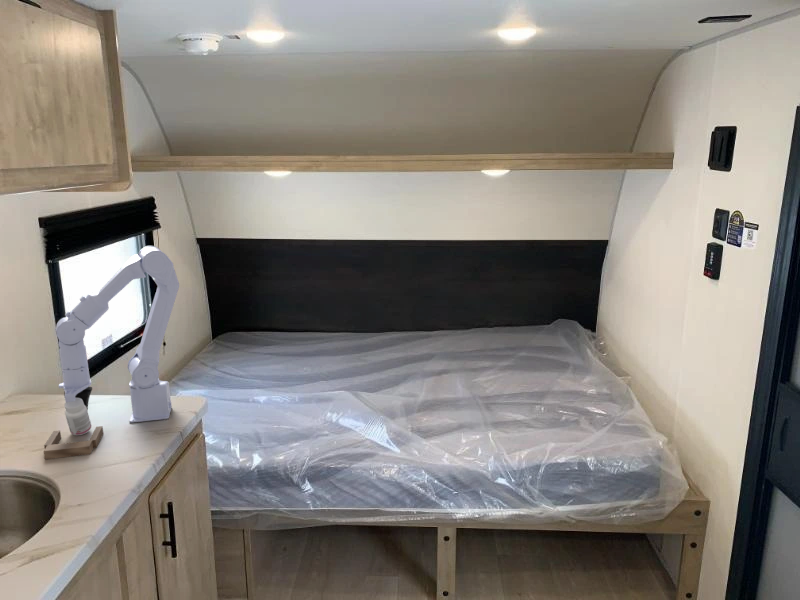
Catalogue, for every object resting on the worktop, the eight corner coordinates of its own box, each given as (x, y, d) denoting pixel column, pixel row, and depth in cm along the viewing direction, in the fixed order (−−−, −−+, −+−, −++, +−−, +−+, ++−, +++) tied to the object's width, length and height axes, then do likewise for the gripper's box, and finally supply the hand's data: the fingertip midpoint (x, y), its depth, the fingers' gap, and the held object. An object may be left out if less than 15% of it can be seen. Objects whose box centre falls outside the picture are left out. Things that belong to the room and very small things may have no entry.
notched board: (103, 433, 150) (102, 426, 149) (93, 453, 140) (92, 445, 139) (54, 438, 147) (53, 431, 147) (41, 459, 137) (40, 451, 137)
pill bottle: (95, 423, 152) (88, 397, 148) (85, 437, 148) (77, 410, 144) (77, 421, 153) (69, 395, 148) (66, 434, 148) (58, 408, 144)
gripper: (65, 357, 154) (72, 407, 158) (47, 378, 141) (55, 432, 144) (95, 355, 156) (101, 404, 159) (80, 375, 142) (88, 429, 146)
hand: (81, 417), depth 152 cm, fingers closed, pressing on pill bottle
